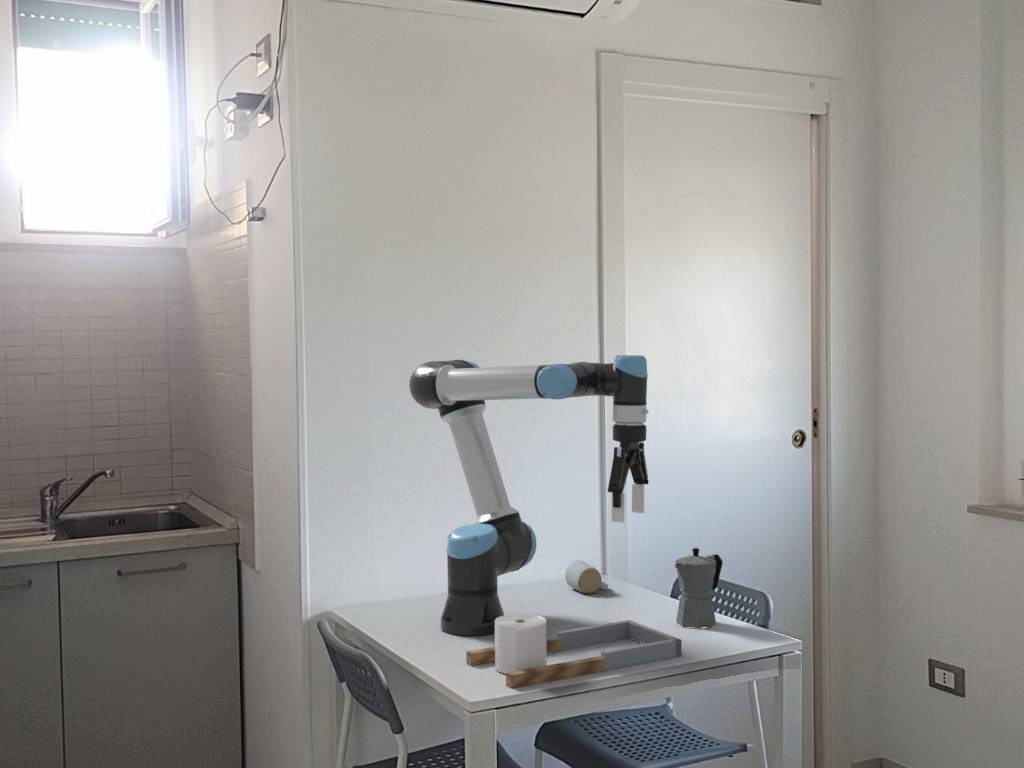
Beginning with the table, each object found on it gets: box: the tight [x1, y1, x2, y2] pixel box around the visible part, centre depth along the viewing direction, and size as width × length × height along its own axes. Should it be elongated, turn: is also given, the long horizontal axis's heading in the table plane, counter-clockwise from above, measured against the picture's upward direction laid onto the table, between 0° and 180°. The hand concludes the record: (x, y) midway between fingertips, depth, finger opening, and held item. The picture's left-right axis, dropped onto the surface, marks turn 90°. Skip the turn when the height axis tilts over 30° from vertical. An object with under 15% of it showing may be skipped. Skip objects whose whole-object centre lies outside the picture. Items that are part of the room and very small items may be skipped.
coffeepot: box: [674, 547, 723, 628], centre depth 261 cm, size 15×9×18 cm, turn 127°
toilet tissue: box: [494, 613, 548, 675], centre depth 227 cm, size 11×12×10 cm
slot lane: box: [465, 636, 606, 689], centre depth 228 cm, size 22×19×2 cm
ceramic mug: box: [564, 560, 609, 595], centre depth 295 cm, size 11×8×8 cm
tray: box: [555, 619, 682, 671], centre depth 238 cm, size 20×19×4 cm
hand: (628, 517), depth 251 cm, fingers open, 13 cm apart
